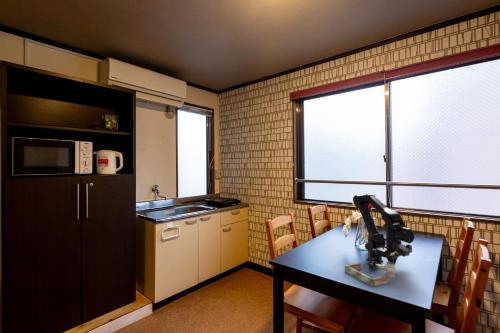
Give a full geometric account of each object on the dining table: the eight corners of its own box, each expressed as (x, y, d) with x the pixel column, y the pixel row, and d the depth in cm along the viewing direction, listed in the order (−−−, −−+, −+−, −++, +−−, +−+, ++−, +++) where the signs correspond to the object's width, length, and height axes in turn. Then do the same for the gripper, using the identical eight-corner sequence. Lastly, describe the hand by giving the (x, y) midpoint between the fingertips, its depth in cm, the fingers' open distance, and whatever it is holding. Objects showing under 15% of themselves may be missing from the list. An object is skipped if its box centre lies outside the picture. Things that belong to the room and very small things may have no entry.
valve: (398, 276, 119) (375, 267, 129) (398, 263, 119) (375, 255, 129) (391, 280, 116) (367, 270, 126) (391, 266, 115) (367, 258, 126)
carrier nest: (344, 271, 125) (344, 265, 125) (359, 267, 129) (359, 262, 129) (373, 286, 109) (373, 279, 109) (388, 282, 113) (388, 275, 113)
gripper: (394, 244, 115) (394, 277, 115) (420, 239, 122) (420, 270, 122) (374, 237, 125) (374, 267, 125) (399, 233, 132) (399, 262, 133)
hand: (392, 267), depth 126 cm, fingers closed
